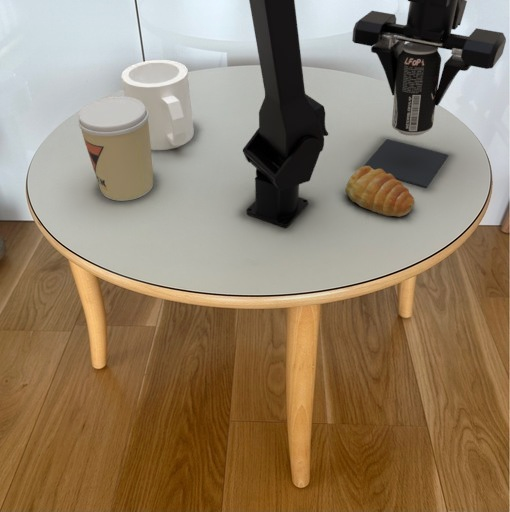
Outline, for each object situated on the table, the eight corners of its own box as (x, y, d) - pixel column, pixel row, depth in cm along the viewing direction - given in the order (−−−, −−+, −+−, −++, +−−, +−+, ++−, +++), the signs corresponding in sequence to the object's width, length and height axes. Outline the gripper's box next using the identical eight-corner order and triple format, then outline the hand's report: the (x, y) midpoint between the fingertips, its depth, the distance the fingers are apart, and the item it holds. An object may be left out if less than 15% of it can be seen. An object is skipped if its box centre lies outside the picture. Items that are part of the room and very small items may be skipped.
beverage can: (417, 118, 86) (426, 36, 79) (440, 132, 82) (452, 47, 74) (383, 126, 85) (390, 43, 77) (405, 141, 80) (414, 56, 73)
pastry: (423, 205, 79) (428, 182, 76) (394, 227, 76) (398, 204, 73) (368, 179, 84) (370, 156, 82) (338, 198, 81) (340, 176, 78)
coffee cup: (92, 175, 87) (73, 101, 79) (153, 164, 89) (141, 90, 81) (98, 210, 80) (79, 132, 72) (164, 197, 82) (153, 120, 74)
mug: (214, 147, 92) (209, 84, 85) (155, 166, 88) (145, 101, 81) (178, 114, 101) (170, 54, 94) (123, 130, 97) (111, 69, 90)
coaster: (426, 188, 82) (426, 186, 82) (361, 169, 86) (361, 167, 86) (447, 156, 88) (448, 154, 88) (386, 140, 92) (386, 138, 92)
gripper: (531, -26, 72) (498, 91, 82) (389, -44, 79) (375, 66, 89) (509, -2, 64) (476, 124, 75) (356, -24, 72) (345, 93, 82)
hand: (415, 99), depth 80 cm, fingers closed on beverage can, 6 cm apart
